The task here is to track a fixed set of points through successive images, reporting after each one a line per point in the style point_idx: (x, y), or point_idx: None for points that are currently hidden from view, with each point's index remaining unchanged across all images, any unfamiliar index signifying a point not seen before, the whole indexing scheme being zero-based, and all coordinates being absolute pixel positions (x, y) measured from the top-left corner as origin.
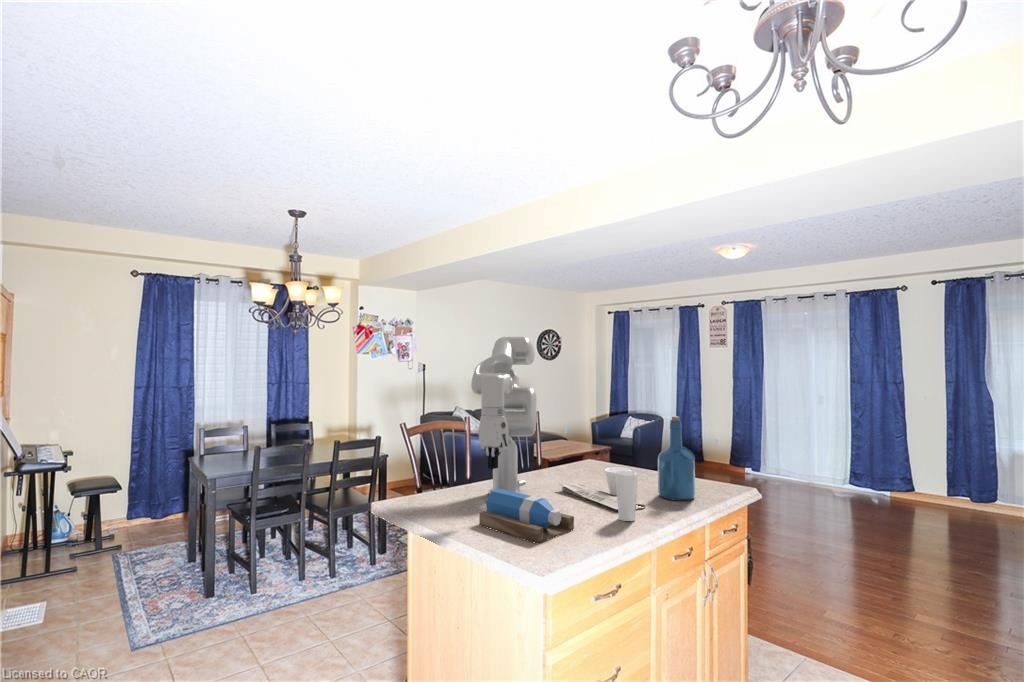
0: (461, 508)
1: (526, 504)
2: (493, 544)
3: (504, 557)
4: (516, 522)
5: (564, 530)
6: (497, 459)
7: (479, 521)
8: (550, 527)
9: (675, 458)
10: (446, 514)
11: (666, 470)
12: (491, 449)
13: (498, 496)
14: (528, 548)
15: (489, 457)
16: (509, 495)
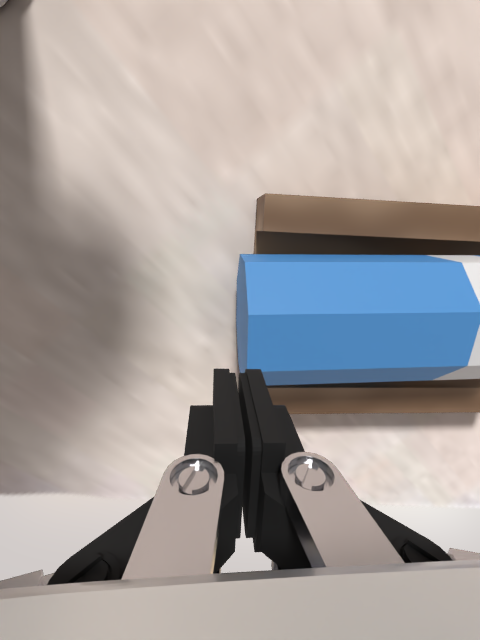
0: (27, 297)
1: (473, 371)
2: (381, 460)
3: (449, 493)
4: (427, 405)
5: None
6: (298, 446)
7: None
8: None
9: None
10: (60, 385)
11: None
12: (166, 561)
13: (306, 375)
14: (471, 424)
15: (237, 537)
16: (374, 368)
